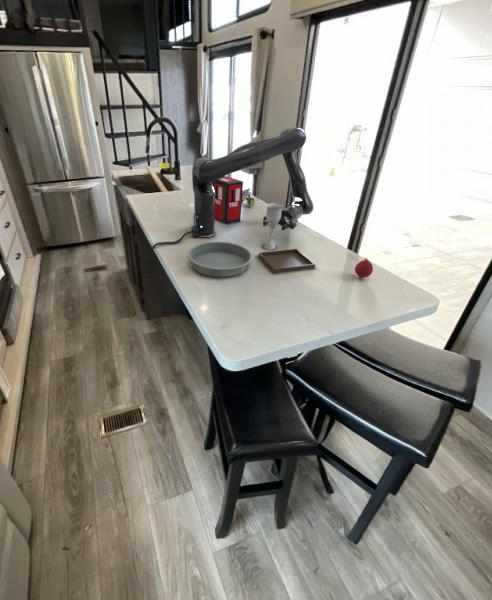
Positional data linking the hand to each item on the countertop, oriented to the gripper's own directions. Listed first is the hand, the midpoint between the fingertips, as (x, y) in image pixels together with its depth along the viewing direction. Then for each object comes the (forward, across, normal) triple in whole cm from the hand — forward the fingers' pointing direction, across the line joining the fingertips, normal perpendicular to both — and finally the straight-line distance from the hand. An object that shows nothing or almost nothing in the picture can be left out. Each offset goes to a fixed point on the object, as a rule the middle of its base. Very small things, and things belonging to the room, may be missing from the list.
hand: (273, 226), depth 134 cm
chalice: (+1, 0, +9) cm, 9 cm away
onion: (+7, +40, +9) cm, 41 cm away
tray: (+11, +12, +9) cm, 19 cm away
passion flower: (-47, -39, +10) cm, 62 cm away
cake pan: (+28, -8, +9) cm, 31 cm away
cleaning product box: (-19, -37, +9) cm, 42 cm away
